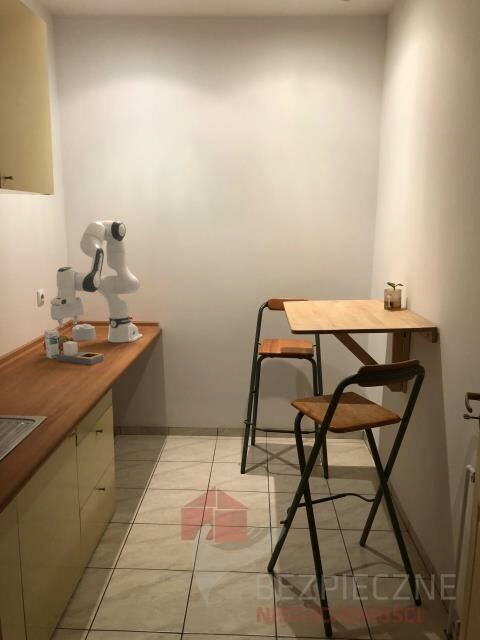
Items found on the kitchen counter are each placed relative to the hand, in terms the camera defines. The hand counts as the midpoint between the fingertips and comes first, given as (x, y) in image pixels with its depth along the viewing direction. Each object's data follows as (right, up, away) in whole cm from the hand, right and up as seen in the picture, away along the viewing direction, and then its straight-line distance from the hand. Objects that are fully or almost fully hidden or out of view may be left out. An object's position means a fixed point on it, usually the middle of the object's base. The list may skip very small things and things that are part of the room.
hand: (68, 325), depth 275 cm
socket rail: (+6, -18, +1) cm, 19 cm away
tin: (-13, -15, +20) cm, 28 cm away
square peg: (0, -18, +4) cm, 18 cm away
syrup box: (-11, -17, +9) cm, 22 cm away
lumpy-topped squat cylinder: (-7, -9, +51) cm, 52 cm away
